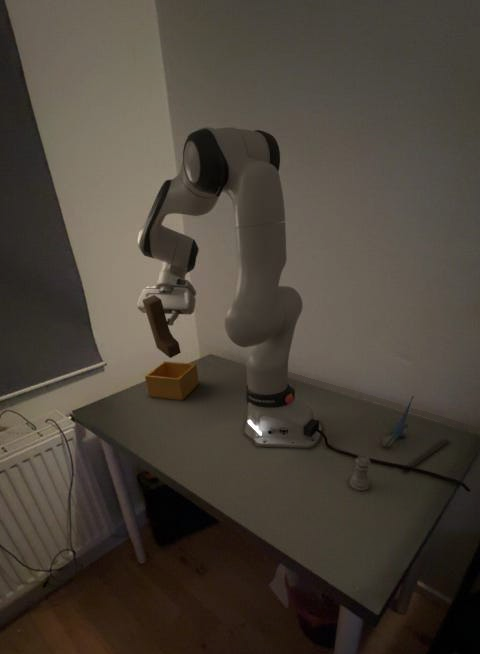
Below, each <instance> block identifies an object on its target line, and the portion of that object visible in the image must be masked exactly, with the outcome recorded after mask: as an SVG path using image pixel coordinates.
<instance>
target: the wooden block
mask: <svg viewBox="0 0 480 654" xmlns="http://www.w3.org/2000/svg"><path fill="white" fill-rule="evenodd" d="M143 304H144V307H145V310H146V313H145V314H146V317H147V319H148V324H149V326H150V330H151V333H152V337H153V340H154V343H155V346H156V348H157V349H158V350H159V351H160V352H162V353H163V354H164V355H165V356H166V357H168V358H169V359H172V358H174V357H175V356H177V355H180V354H181V352H182V351H181V348H180V343H179V341H178V340H177V339H176V338H175V337H174V336H173V334H172V332H171V331H170V328H169V325H168V324H167V317H166V314H165V312H164V309H163V305H162V301H161V299H160V298H158V297H157V296H155V295H153V296H150V297H148V298H146V299H144V300H143Z"/></svg>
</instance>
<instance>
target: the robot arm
mask: <svg viewBox="0 0 480 654" xmlns="http://www.w3.org/2000/svg"><path fill="white" fill-rule="evenodd" d="M183 146H184V147H183V149H182V162H181V166H180V170H179V172H178V173H177V175H176V176H174V177H173V178H172V179H165V181H164V182H163V184H162V185H161V186H160V189H159V190H158V193H157V195H156V197H155V199H154V201H153V204H152V206H151V208H150V211H149V213H148V216H147V218H146V220H145V221H144V224H143V225H142V226H141V227H140V230H139V232H138V236H137V246H138V249H139V250H140V252H141V253H142V255H143V256H144V257H148V258H151V259H154V260H158V261H161V270H159V273H158V278H157V280H156V281H157V282H156V285H154V286H151V285H148V286H146V287H145V288H143V289H142V290H141V293H140V296H139V298H138V301H137V302H136V307H137V309H138V310H139V311H140V312H141V313H142V314H147V313H146V310H145V307H144V304H143V300H144V299H146V298H148V297H150V296H153V295H155V296H157V297H158V298H160V299H161V301H162V305H163V309H164V312H165V315H171V316H170V317H169V318H166V320H167V324H168V326H170V327H171V326H174V323H175V321H176V320H177V319H178V318H179V316H180V315H189V316H191V315H192V314H193V313H194V312H195V309H196V308H195V307H196V301H197V300H196V295H197V291H196V289H195V287H194V286H193V284H192V282H190V281H189V280H187V279H186V275H187V274H188V273H190V272H191V271H193V270H194V269H195V267H196V263H197V257H198V254H199V250H200V248H199V246H198V244H197V241H196V240H195V239H194V238H192V237H191V236H188V235H186V234H184V233H181V232H178V231H176V230H173V229H171V228H169V227H167V226H164V225H162V224H163V222H164V220H165V219H166V216H168V215H172V214H178V215H184V216H185V215H186V216H190V217H198V216H199V217H200V216H203V215H207V214H208V213H210V212H211V211H212V210H213V209H214V208H215V207H216V205H217V203H218V201H219V199H220V197H221V194H222V193H224V194H226V195H228V196H229V198H230V200H231V202H232V208H233V223H234V224H233V225H234V234H235V245H236V247H235V248H236V258H237V273H236V281H235V289H234V293H233V298H232V301H231V305H230V307H229V308H228V310H227V312H226V314H225V317H224V329H225V333H226V334H227V336H228V338H229V339H230V341H232V342H233V343H234V344H235V345H236V346H238V347H241V348H249V347H251V349H250V351H249V353H248V355H247V357H246V362H245V365H246V381H247V383H246V385H245V388H246V389H245V399H246V404H247V412H246V413H247V414H246V420H245V425H244V433H245V434H246V435H247V437H249V438H250V439H252V440H253V442H254V444H255V446H257V447H263V448H264V447H265V448H291V449H292V448H293V449H294V448H295V449H311V448H313V447H315V445H317V443H318V442H319V441H320V439H321V436H322V437H323V439H324V440H323V441H324V444H325V446H326V447H327V448H328V449H329V450H332V451H334V452H336V453H339V454H342V455H346V456H350V457H353V458H355V459H357V458H358V456H360V454H356V453H352V452H348V451H345V450H340V449H337V448H335V447H333V446H331V444H329V442H328V436H327V435H326V434H325V432H323V431H322V430H323V429H322V424H321V422H320V420H319V419H316V418H315V417H314V412H313V410H312V408H311V407H310V406H309V405H307V404H306V403H304V402H303V401H301V400H300V399H299V398H297V397H296V385H293V387H292V386H291V385H290V384H289V383H288V377H289V360H290V359H289V358H290V352H291V348H292V343H293V338H294V334H295V329H296V326H297V323H298V320H299V318H300V317H301V314H302V311H303V305H304V304H303V299H302V296H301V294H300V292H298V291H297V289H295V288H293V287H291V286H288V285H280V280H281V276H282V272H283V270H284V268H285V266H286V264H287V259H288V257H287V234H286V233H287V231H286V229H287V228H286V211H285V210H286V209H285V199H284V193H283V186H282V183H281V182H282V181H281V177H280V173H279V171H280V166H281V151H280V146H279V144H278V141H277V139H276V138H275V137H274V136H273V134H271V133H269V132H267V131H264V130H260V129H255V130H252V129H251V130H249V129H244V128H236V127H234V126H233V127H232V126H231V127H230V126H229V127H219V128H214V127H209V126H204V127H201V128H199V129H197V130H195V131H193V132H191V133H189V134H188V136H187V138H186V139H185V143H184V145H183ZM369 459H370V461H371V463H376V464H380V465H384V466H389V467H395V468H400V469H404V470H406V469H409V471H414V472H417V473H421V474H424V475H429V476H432V477H435V478H438V479H441V480H444V481H448V482H450V483H451V482H452V483H455V484H458V485H459V486H461V487H462V488H463V489H464V490H465V491H466V492H468V493H470V492H471V489H470V488H469V486H467V484H466V483H464V482H463V481H461V480H459V479H456V478H453V477H449V476H444V475H442V474H438V473H435V472H433V471H430V470H425V469H421V468H417V467H410V466H409V465H405V464H400V463H393V462H388V461H383V460H379V459H374V458H370V457H369Z"/></svg>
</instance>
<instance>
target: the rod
mask: <svg viewBox="0 0 480 654" xmlns="http://www.w3.org/2000/svg"><path fill="white" fill-rule="evenodd" d="M448 443H449V441H448V440H446V441H443V443H441V444H440V445H438V446H437V447H436V448H434V449H432V450H431V451H429V453H427V454H426V455H424V456H423V457H421V458H420V459H418V460H417V461H415V462H414V463H413V464H411V465H410V466H409V467H413V468H416V466H418V465H419V464H420V463H423V461H425V460H426V459H428V458H429V457H431V456H432V455H434V454H435V453H436V452H438V451H439V450H441V449H442V448H443V447H445V446H446V445H447V444H448ZM409 471H410V470H409V469H404V470H403V472H404V473H406V474H407V473H408V472H409Z"/></svg>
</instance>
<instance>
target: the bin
mask: <svg viewBox="0 0 480 654" xmlns="http://www.w3.org/2000/svg"><path fill="white" fill-rule="evenodd" d="M144 378H145V383H146V387H147V392H148V396H149V397H153V398H161V399H168V400H176V401H177V400H178V401H184V399H185V398H186V397H188V396H189V394H190V393H191V392H192V391H193V390H195V388H196V387H197V386H199V384H200V381H199V374H198V367H197V363H188V362H177V361H176V362H175V361H163V362H161V363H160V364H159V365H157V366H156V367H155V368H153V369H152V370H151V371H149V372H148V373H147V374H146V375H144Z"/></svg>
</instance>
